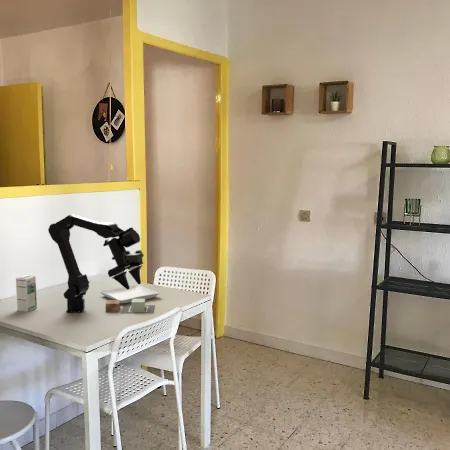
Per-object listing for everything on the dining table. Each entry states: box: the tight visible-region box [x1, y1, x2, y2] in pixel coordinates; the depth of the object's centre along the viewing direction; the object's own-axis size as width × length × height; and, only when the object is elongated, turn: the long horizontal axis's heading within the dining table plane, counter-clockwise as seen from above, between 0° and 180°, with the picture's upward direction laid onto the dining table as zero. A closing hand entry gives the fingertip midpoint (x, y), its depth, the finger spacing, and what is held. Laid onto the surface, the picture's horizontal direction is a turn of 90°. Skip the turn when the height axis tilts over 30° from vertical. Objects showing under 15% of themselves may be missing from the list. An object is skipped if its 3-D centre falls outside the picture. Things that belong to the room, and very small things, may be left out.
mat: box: [120, 304, 156, 315], centre depth 212 cm, size 14×12×1 cm
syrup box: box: [15, 274, 38, 313], centre depth 209 cm, size 6×6×14 cm
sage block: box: [130, 299, 146, 311], centre depth 212 cm, size 6×6×4 cm
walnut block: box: [105, 299, 121, 312], centre depth 211 cm, size 6×6×4 cm
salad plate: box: [99, 284, 160, 305], centre depth 232 cm, size 21×21×3 cm
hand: (134, 286), depth 199 cm, fingers open, 9 cm apart
